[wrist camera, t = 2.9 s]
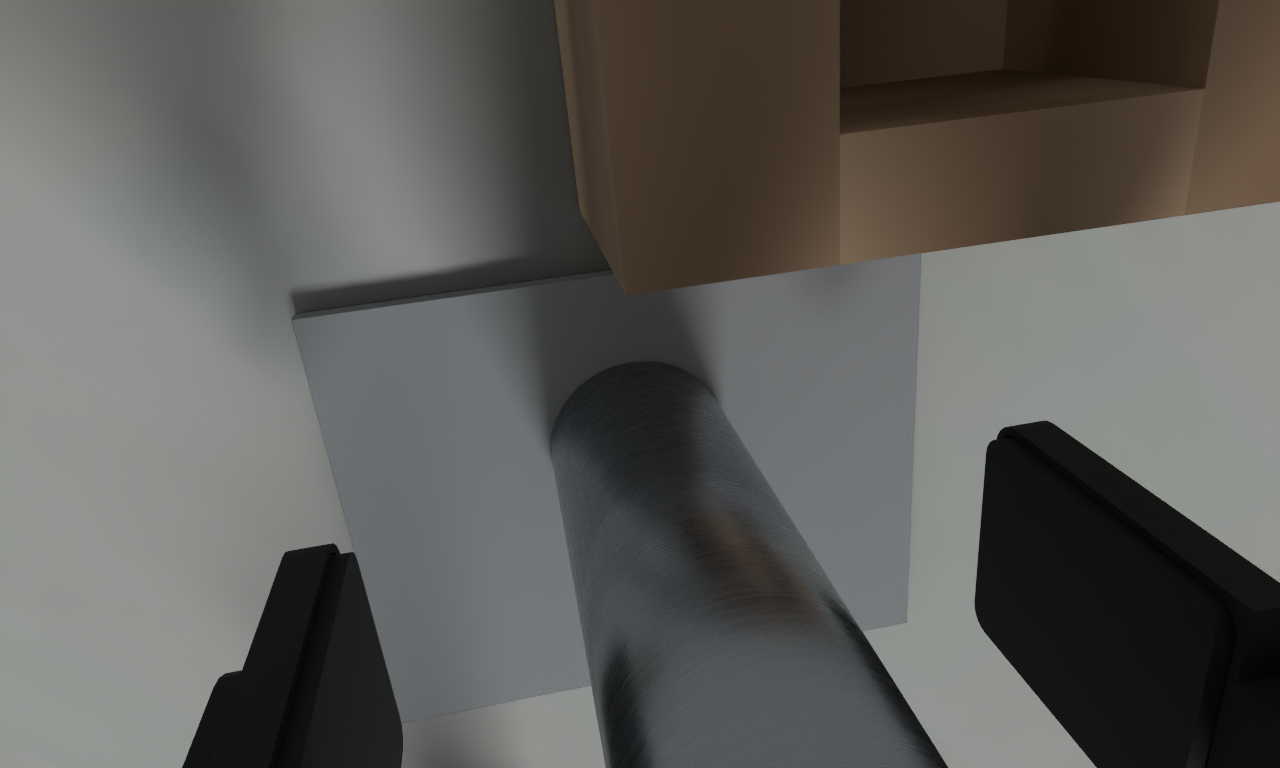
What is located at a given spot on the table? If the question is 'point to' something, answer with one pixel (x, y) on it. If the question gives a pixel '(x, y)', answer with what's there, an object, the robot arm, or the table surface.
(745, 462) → the pin
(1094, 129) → the block
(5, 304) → the table surface
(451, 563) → the mat
